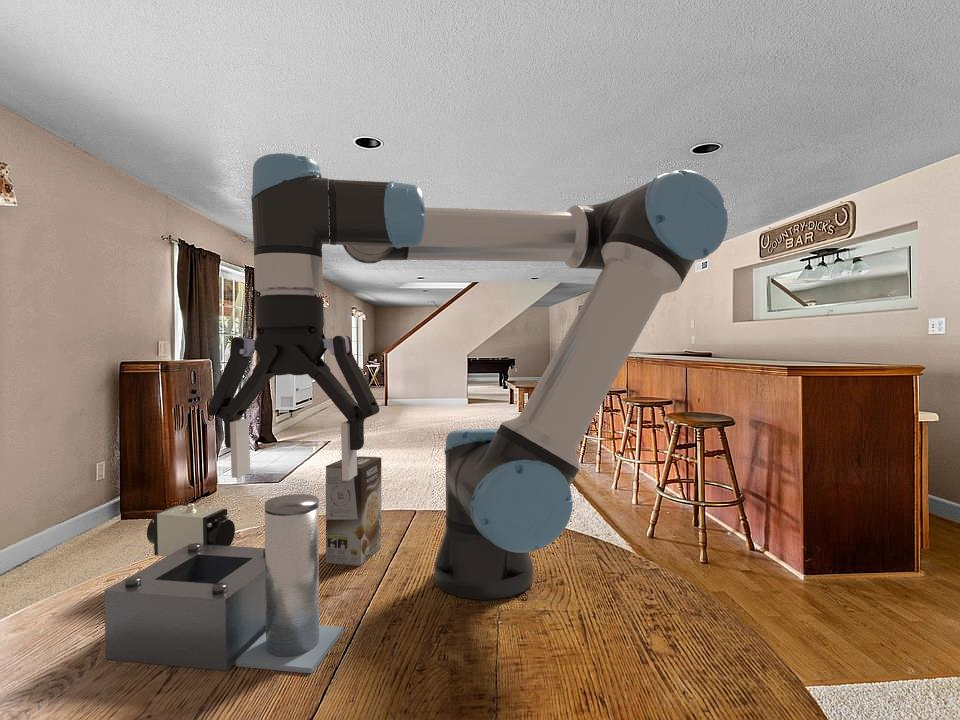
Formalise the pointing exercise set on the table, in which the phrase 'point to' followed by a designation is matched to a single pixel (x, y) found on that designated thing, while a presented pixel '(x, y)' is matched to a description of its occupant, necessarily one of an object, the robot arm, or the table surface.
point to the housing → (189, 608)
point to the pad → (300, 663)
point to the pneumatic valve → (189, 528)
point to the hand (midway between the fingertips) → (294, 476)
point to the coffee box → (353, 512)
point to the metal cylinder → (292, 574)
